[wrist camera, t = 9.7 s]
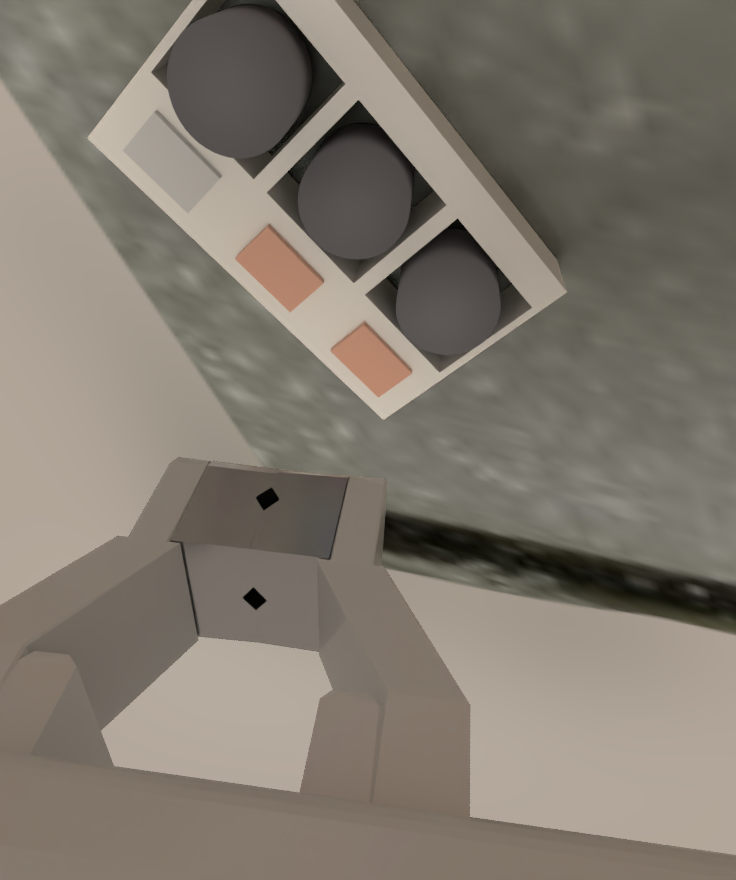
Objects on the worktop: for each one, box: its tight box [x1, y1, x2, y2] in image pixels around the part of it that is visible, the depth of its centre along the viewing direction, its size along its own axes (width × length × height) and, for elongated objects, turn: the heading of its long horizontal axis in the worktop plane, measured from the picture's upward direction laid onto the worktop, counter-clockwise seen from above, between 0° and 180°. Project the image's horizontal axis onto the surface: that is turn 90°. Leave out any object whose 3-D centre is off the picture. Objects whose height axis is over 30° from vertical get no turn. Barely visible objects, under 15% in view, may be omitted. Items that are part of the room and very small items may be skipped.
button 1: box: [167, 4, 312, 158], centre depth 21 cm, size 4×4×3 cm
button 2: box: [396, 229, 501, 355], centre depth 26 cm, size 4×4×3 cm
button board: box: [87, 0, 567, 420], centre depth 25 cm, size 15×9×3 cm, turn 43°
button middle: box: [298, 124, 414, 260], centre depth 24 cm, size 4×4×3 cm
